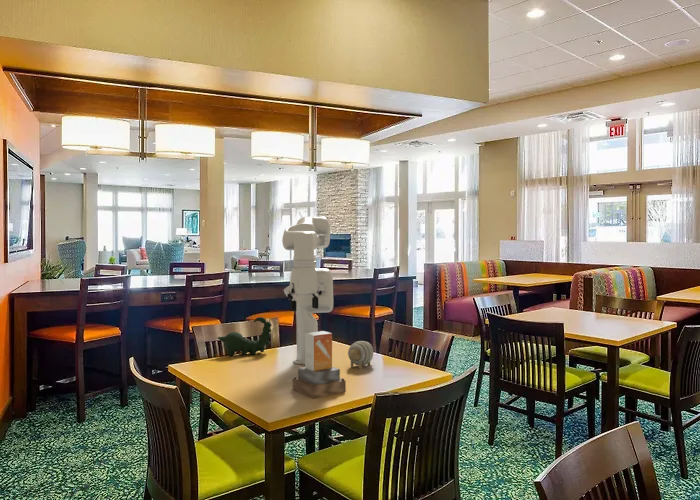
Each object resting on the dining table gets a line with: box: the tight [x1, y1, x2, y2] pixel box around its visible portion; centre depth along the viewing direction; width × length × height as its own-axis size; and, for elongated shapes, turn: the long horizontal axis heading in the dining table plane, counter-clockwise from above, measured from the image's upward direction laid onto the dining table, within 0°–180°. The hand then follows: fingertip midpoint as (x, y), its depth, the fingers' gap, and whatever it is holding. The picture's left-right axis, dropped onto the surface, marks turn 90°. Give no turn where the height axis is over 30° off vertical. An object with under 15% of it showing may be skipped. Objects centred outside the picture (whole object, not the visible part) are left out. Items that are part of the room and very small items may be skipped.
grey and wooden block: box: [292, 366, 347, 400], centre depth 188 cm, size 14×14×8 cm
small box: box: [304, 330, 333, 371], centre depth 188 cm, size 8×6×13 cm
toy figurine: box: [217, 316, 273, 356], centre depth 247 cm, size 9×19×25 cm
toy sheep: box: [347, 340, 374, 370], centre depth 223 cm, size 11×17×11 cm, turn 153°
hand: (304, 309), depth 194 cm, fingers open, 9 cm apart
